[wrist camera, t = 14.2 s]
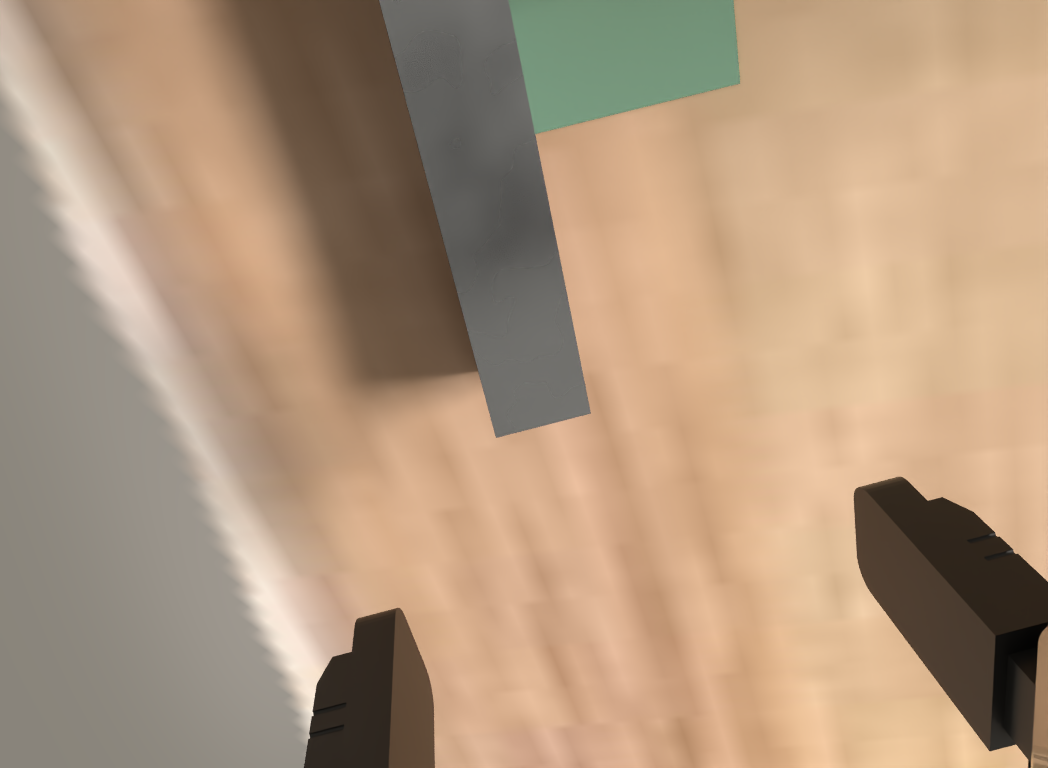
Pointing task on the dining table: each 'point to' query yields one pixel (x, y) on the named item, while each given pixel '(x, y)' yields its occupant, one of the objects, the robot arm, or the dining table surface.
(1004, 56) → the dining table surface
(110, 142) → the dining table surface
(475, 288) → the crook
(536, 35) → the green flat plank
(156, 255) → the dining table surface
